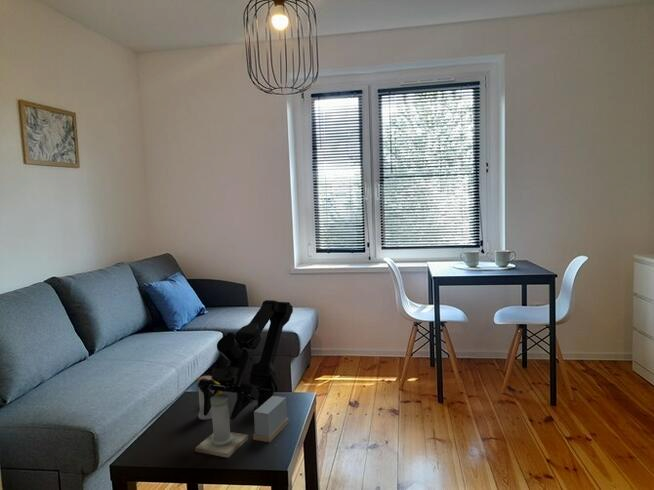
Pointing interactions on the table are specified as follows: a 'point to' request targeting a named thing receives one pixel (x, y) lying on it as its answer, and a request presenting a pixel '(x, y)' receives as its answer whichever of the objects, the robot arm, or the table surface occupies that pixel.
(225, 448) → the pad
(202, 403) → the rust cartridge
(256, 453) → the table surface
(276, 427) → the block
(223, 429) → the knob
